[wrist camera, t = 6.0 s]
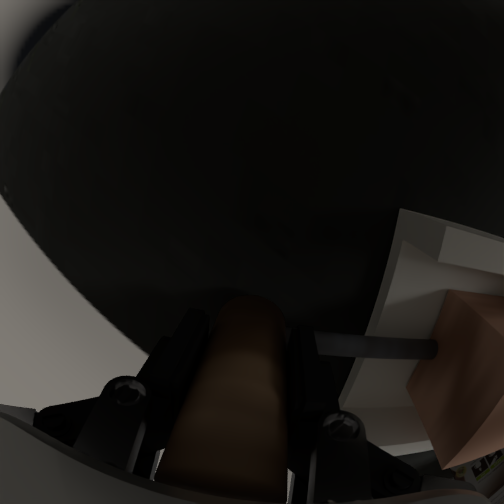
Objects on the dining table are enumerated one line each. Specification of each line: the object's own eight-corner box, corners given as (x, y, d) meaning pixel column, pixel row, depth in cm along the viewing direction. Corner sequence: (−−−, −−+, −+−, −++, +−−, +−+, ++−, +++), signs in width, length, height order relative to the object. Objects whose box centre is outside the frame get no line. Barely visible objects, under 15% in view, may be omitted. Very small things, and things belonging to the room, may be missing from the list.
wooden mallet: (223, 255, 11) (135, 403, 4) (515, 298, 11) (598, 368, 3) (212, 370, 13) (166, 515, 5) (475, 381, 12) (528, 465, 5)
